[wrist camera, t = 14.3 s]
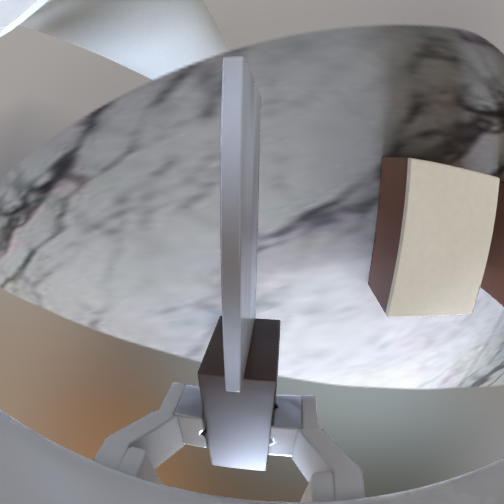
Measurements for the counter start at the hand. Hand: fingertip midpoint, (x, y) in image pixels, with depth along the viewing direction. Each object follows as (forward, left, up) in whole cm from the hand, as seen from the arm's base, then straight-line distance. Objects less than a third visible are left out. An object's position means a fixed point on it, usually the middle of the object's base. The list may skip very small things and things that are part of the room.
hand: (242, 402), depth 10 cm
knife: (-4, 0, -2) cm, 4 cm away
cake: (-5, +9, -8) cm, 13 cm away
